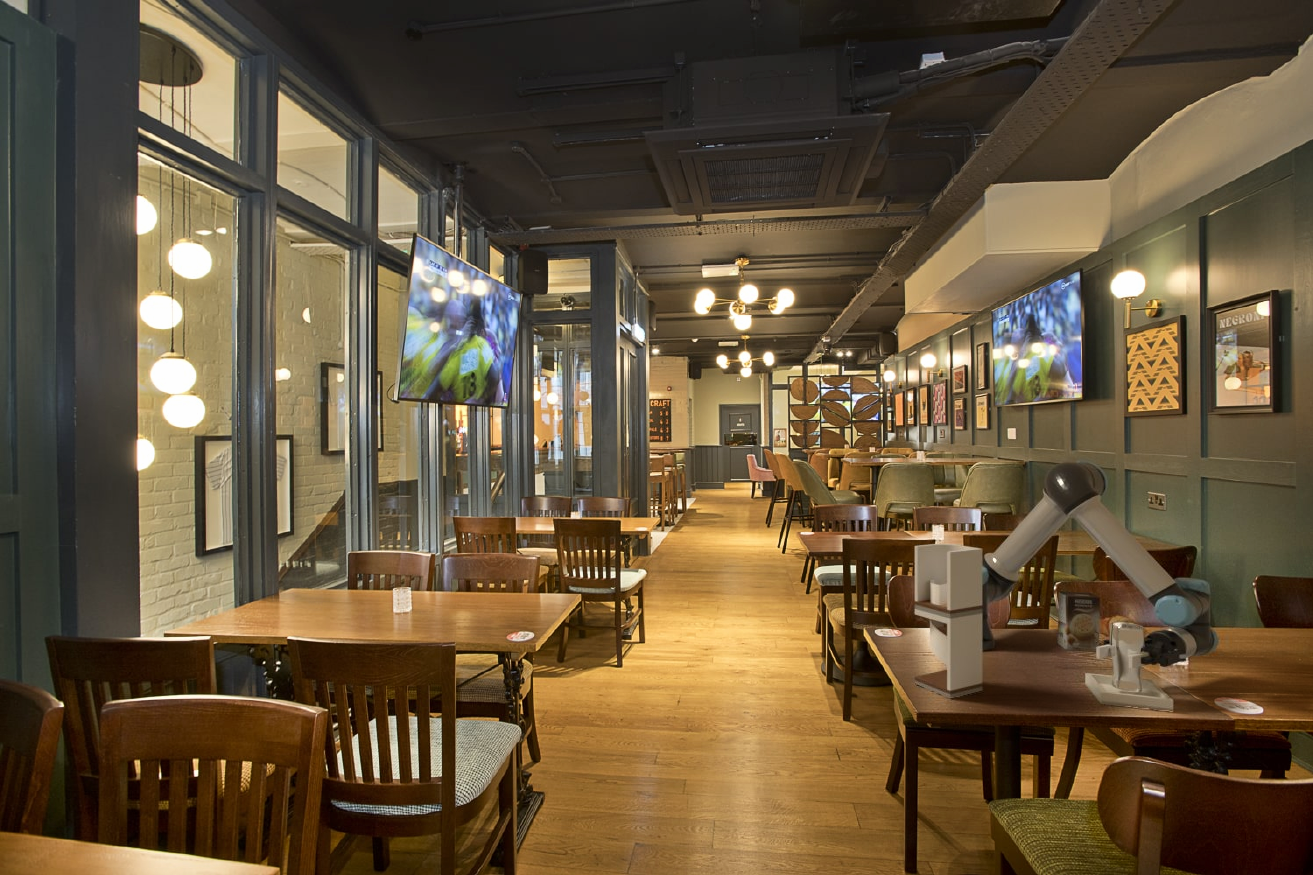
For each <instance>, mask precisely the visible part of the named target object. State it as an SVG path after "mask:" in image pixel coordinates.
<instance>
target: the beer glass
mask: <svg viewBox="0 0 1313 875" xmlns="http://www.w3.org/2000/svg"><path fill="white" fill-rule="evenodd" d="M1140 625H1141V624H1138V625H1137V623H1135V624H1133V623H1127V622H1112V623H1111V627H1110V637H1109V638H1108V640H1109V642H1110V652H1111V657H1110V658H1111V662H1112V666H1113V667H1112V668H1113V669H1112V670H1113V674H1112V676H1113V679H1112V686H1113V687H1114V688H1116V689H1119V690H1122V691H1126V692H1141V691H1142V684H1141V679H1142V678H1141V671H1142V667H1143V666H1140V667H1136V668H1129V656H1130V655H1134V654H1139V653H1144V652H1145V638H1144V628H1145V626H1144V627H1142V626H1143V625H1142V626H1140Z"/></svg>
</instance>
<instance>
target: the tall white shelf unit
mask: <svg viewBox="0 0 1313 875" xmlns="http://www.w3.org/2000/svg"><path fill="white" fill-rule="evenodd" d="M982 558H983V548H979V547H974V546H973V547H972V546H968V545H959V544H953V543H947V542H944V543H943V542H942V543H932V544H922V545H914V615H916V616H919V617H923V618H925V619H926V618H927V619H928V620H929V648H930V651H931V652H932V655H934V656H935V658H936V659H938V660H939V661H940V662H941V663H942V664H944V665H946V669H943V670H938V671H934V672H930V673H926V674H922V675H917V676H914V684H915V683H916V684H918V685H920V686H922V687H924V688H926V689H931V690H933V691H935V692H937V693H940V694H941V695H944V696H948V697H949V698H951V697H956V696H962V697H964V696H963V695H966V696H968V695H967V694H970V695H972V694H971V693H974V692H978V691H982V692H983V651H982ZM924 688H923V689H924ZM926 689H925V690H926ZM978 693H979V692H978ZM974 694H975V693H974ZM941 695H940V696H941Z"/></svg>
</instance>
